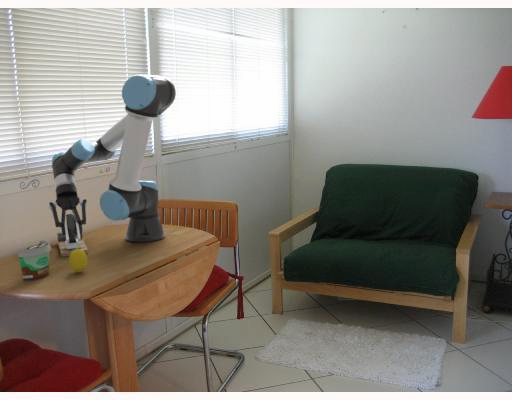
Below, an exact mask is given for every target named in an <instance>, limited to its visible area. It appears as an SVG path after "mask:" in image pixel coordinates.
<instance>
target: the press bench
mask: <svg viewBox="0 0 512 400" xmlns="http://www.w3.org/2000/svg"><path fill="white" fill-rule="evenodd" d="M56 234H57V244H58V245H57V246H58V248H59V253H60V257H62V258H65V257H69V256H70V254H71V252H72V251H74V250H76V248H74V249H66V245H65V241H66V235H62V231H61V232H57V233H56ZM80 238H81V240H80V242H81V248H78V249H80V250H83V251H84V252H85V253H86V255H88V254H89V251H88V247H87V245H86V244H85V241H84V238H83V232H82V233H80ZM77 239H78V238H77Z"/></svg>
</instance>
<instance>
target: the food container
mask: <svg viewBox="0 0 512 400" xmlns="http://www.w3.org/2000/svg"><path fill="white" fill-rule="evenodd" d="M51 250H52V248H51V245H50V243H49V242H48V241H45V240H39V243H38V244H36V245H31V246H29V247H27V248H25V249H18V251H17V258H19V263H20V268H21V274H22V280H23V281H24V282H25V281H29V282H30V281H36V280H41V279H44V278H46V277H48V276H49V275H50V251H51Z"/></svg>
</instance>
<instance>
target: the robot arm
mask: <svg viewBox="0 0 512 400" xmlns="http://www.w3.org/2000/svg"><path fill="white" fill-rule="evenodd" d="M176 92H177V91H176V88H175V85H174V83H173V82H172V81H171V80H170V79H169V78H168V77H166V76H163V75H155V74H153V75H152V74H145V73H141V74H134V75H132V76H130V77H128V78H127V79H126V80H125V82H124V83H123V86H122V88H121V97H122V98H121V99H123V102H124V105H125V106H124V110H125V112H126V114H125V115H124V116H123V117H121V119H119V120H118V121H117V122H116V123H115V124H113V126H112V127H110V128H109V129H108V130H107V131H106V132H105V133H104V134H103V135H102V136H101V137H100V138H99V139H97V140H96V141H95V142H91V141H90V140H89V139H85V138H79V139H78V140H77V141H76V142H74V143H73V144H72V145H71V146H70V147H69V149H68V150H67V151H65V152H58V153H56V154H54V155H53V156H52V157H51V168H52V173H53V181H54V188H55V196H56V199H55V201H54V202H52V201H50V202H49V204H48V205H49V207H48V208H49V209H50V210H51V213H52V215H53V216H52V217H53V221H54V225H55V227H56V228H60V229H61V232H62V235H66V242H67V244H69V236H68V229H67V223H66V215H67V211H69V210H70V211H71V212H72V214H75V216H76V229H77V238H78V242H80V240H81V238H80V233H82V234H83V225H87V212H86V208H87V207H86V206H87V202H88V201H87V199H81V198H80V197H79V196H78V189H77V184H76V176H75V172H76V171H77V170H78V169H79V168H81V166H83V165H84V164H87V163H94V162H102V161H108V160H110V159H111V160H112V159H113V157H114V156H115V155H116V150H117V149H119V148H120V147H121V148H120V153H119V157H118V163H117V168H116V171H115V177H114V178H112V179H111V180H110V181H109V184H108V190H105V191H104V192H103V193H102V194H101V196H100V198H99V207H100V210H101V211H102V213H103V215H104V216H105V217H106V218H107V219H109V220H111V221H114V222H115V221H116V222H118V221H124V220H126V219H129V220H128V224H127V229H126V232H125V238H126V241H128V242H134V243H135V242H136V243H144V242H145V243H147V242H154V241H158V240H161V239H163V238H164V237H165V235H166V234H165V229H164V228H163V224H162V221H161V219H160V211H159V210H160V207H159V206H160V205H159V189H158V183H157V182H156V181H154V180H140V178H141V173H142V169H143V164H144V159H145V157H146V156H145V155H146V150H147V145H148V142H149V138H150V132H151V130H152V129H151V128H152V124H153V121H154V120H156V119H157V118H158V116H161V115H162V114H163V113H165V111H167V109H168V108H170V107H171V105H172V104H173V103H174V101H175V100H176V94H177V93H176ZM78 205H79V206H80V207H81V217H80V215H79V212H78V209H77V207H78ZM57 206H58V207H59V208H60V209H61V219H60V220H59V217H58V213H57ZM81 218H82V219H81Z"/></svg>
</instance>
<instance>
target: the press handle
mask: <svg viewBox="0 0 512 400" xmlns="http://www.w3.org/2000/svg"><path fill="white" fill-rule="evenodd" d="M65 222H66V224H67V229H68V236H69V244H67V242H66V241H65V245H66V249H74V248H81V242H78V239H77V229H76V223H77V222H76V216H75V214H73V213H66V214H65Z"/></svg>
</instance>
